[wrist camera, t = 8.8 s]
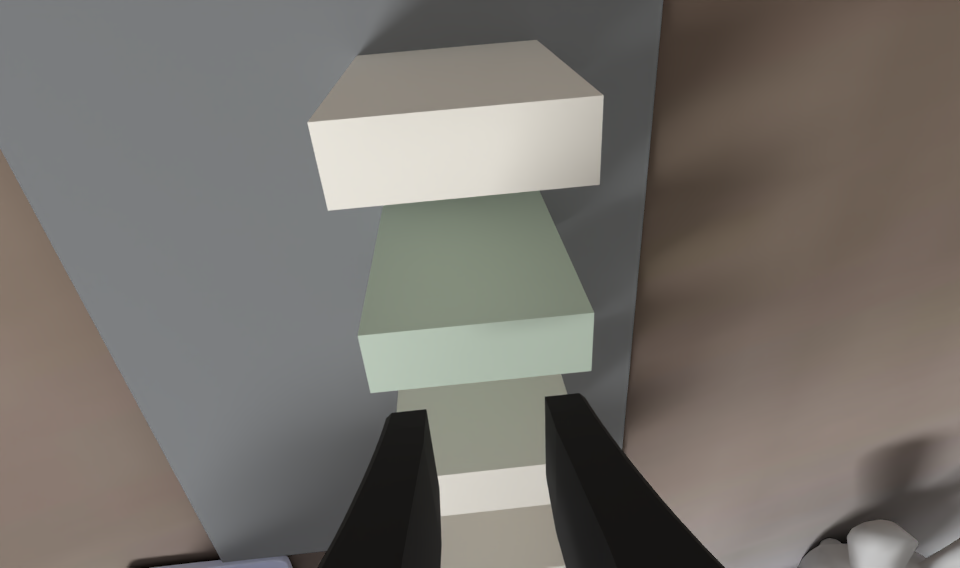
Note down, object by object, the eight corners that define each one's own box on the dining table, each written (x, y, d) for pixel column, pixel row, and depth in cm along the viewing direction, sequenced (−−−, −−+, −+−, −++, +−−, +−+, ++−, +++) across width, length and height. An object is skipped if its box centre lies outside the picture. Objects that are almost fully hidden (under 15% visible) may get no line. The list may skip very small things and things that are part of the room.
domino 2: (539, 235, 18) (591, 370, 12) (390, 249, 18) (370, 393, 12) (539, 190, 18) (594, 312, 12) (383, 204, 17) (357, 335, 11)
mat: (613, 511, 27) (615, 518, 27) (225, 554, 27) (222, 562, 26) (672, -160, 14) (678, -163, 13) (-118, -98, 13) (-133, -99, 13)
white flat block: (537, 98, 16) (599, 184, 10) (366, 114, 16) (327, 210, 10) (536, 39, 15) (604, 95, 9) (356, 55, 15) (307, 122, 9)
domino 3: (541, 342, 21) (585, 500, 15) (409, 356, 21) (400, 520, 15) (541, 307, 20) (587, 459, 14) (403, 321, 20) (391, 480, 14)
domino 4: (542, 427, 23) (581, 593, 17) (424, 440, 23) (421, 611, 17) (542, 399, 22) (582, 563, 16) (419, 412, 22) (414, 582, 16)
